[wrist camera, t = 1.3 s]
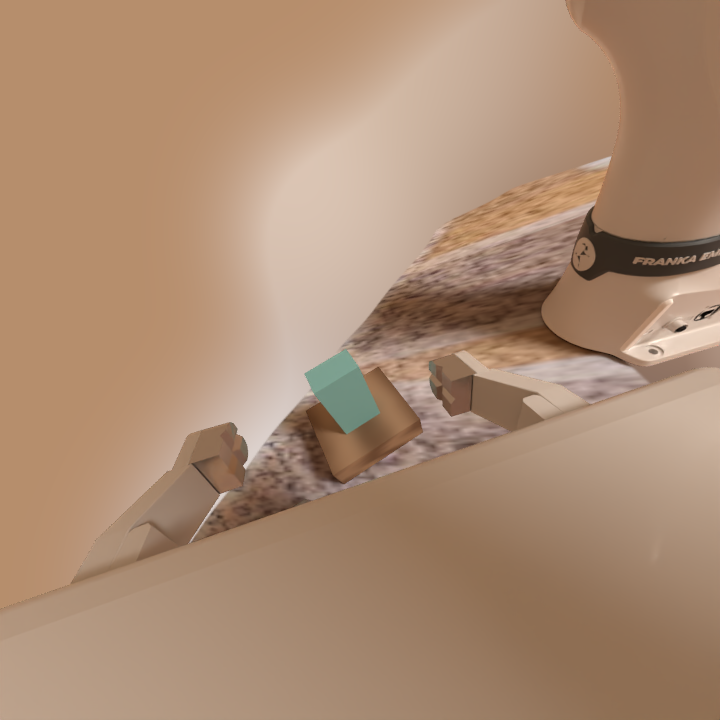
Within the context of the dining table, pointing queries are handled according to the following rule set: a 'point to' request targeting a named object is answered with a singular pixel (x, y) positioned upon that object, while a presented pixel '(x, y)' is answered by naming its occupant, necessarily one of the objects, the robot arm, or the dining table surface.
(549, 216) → the dining table surface
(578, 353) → the dining table surface
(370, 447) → the brown block
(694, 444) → the robot arm
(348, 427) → the sage green upright block
